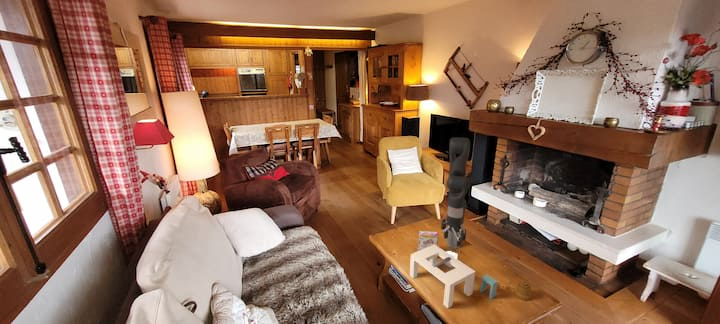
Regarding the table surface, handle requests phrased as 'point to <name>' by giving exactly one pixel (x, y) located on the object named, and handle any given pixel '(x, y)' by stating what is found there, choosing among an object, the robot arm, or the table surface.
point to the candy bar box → (427, 239)
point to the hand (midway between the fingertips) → (451, 242)
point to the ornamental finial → (523, 290)
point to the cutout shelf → (447, 278)
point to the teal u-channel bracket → (492, 282)
